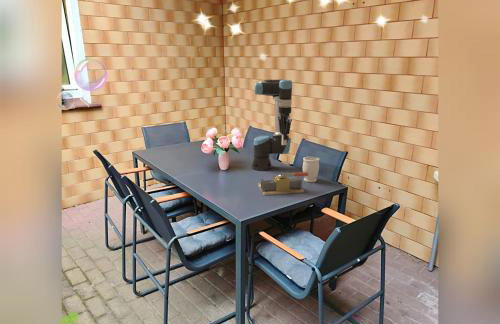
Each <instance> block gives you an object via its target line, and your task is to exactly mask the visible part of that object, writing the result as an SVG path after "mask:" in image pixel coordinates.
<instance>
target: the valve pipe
mask: <svg viewBox="0 0 500 324" xmlns="http://www.w3.org/2000/svg"><path fill="white" fill-rule="evenodd" d="M260 183H261V190H262V191H263V192H265V191H271V190H276V192H279V191H289V189H303V187H302V184H303V180H302V178H300V176H296V178H289V176H284V178H279V177H278V175H273V176H272V179H270V180H269V179H268V180H264V179H263V178H261V179H260ZM261 190H260V191H261ZM262 191H261V192H262Z"/></svg>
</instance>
